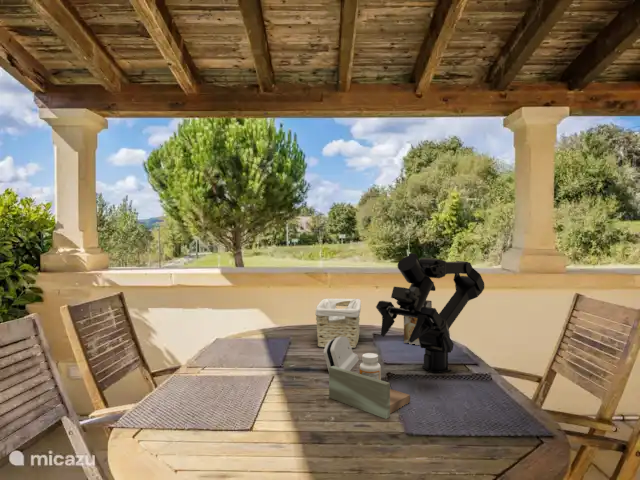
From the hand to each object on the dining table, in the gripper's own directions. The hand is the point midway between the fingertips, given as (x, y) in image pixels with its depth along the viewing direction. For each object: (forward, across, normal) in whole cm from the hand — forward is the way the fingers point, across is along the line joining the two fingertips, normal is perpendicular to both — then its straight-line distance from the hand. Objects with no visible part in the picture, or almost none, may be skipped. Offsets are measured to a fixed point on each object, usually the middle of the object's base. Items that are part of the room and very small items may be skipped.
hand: (395, 338), depth 120 cm
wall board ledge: (+18, 0, +1) cm, 18 cm away
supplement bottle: (+17, 0, 0) cm, 17 cm away
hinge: (+8, -23, +12) cm, 27 cm away
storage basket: (-8, -44, +28) cm, 52 cm away
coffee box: (-20, -20, +40) cm, 49 cm away
